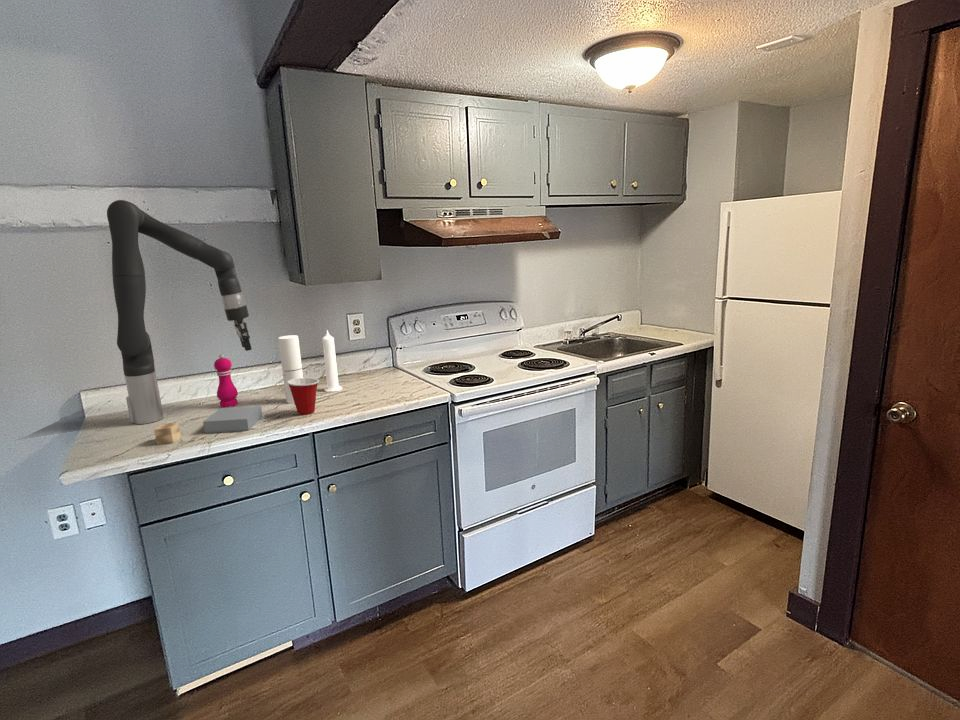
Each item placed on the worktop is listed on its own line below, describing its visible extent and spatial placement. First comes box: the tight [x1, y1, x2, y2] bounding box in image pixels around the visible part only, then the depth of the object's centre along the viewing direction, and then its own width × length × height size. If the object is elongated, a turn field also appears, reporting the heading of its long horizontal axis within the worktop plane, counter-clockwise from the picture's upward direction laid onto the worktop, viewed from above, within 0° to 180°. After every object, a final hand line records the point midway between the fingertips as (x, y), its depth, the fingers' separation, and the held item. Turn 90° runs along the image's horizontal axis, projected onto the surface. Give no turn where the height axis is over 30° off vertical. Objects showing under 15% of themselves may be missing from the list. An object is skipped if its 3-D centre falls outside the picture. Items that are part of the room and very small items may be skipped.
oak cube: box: [153, 422, 182, 445], centre depth 169 cm, size 5×5×5 cm
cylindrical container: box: [277, 334, 304, 404], centre depth 204 cm, size 7×7×25 cm
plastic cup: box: [287, 377, 320, 416], centre depth 191 cm, size 11×11×12 cm
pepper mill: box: [213, 353, 239, 408], centre depth 202 cm, size 7×7×20 cm
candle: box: [321, 329, 343, 393], centre depth 217 cm, size 7×7×25 cm
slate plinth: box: [202, 405, 263, 434], centre depth 182 cm, size 14×14×4 cm
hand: (247, 348), depth 200 cm, fingers open, 8 cm apart
